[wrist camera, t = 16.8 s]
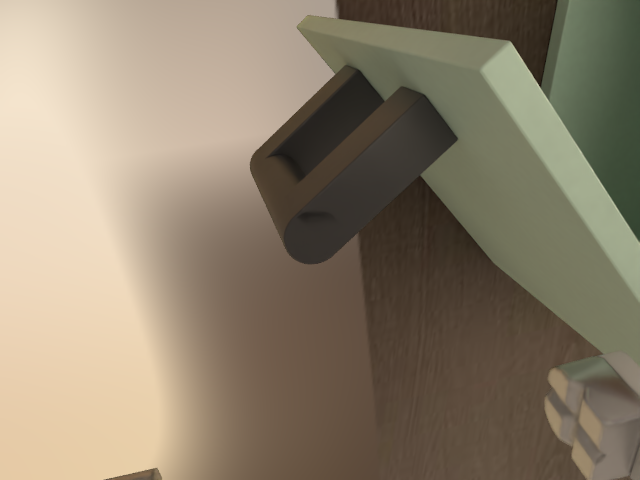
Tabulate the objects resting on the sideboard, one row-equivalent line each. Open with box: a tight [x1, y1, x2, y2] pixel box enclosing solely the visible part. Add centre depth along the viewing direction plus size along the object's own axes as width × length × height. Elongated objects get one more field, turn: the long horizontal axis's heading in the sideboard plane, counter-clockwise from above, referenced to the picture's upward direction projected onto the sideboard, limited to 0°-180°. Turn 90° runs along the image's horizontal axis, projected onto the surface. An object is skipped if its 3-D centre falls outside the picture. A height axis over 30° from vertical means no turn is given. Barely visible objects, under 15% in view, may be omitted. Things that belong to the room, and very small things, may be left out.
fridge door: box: [250, 15, 640, 366], centre depth 23 cm, size 7×18×18 cm, turn 41°
